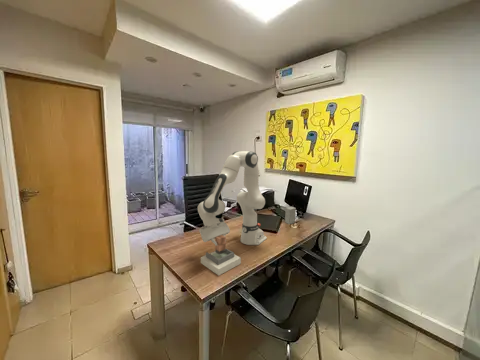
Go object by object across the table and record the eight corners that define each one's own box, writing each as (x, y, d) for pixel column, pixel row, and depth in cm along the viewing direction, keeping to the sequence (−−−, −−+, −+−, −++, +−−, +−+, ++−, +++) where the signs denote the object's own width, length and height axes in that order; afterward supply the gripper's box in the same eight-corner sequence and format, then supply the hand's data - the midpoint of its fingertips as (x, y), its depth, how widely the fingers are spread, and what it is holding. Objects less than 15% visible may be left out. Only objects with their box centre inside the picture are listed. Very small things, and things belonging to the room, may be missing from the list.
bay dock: (222, 253, 142) (222, 243, 141) (240, 263, 130) (240, 253, 129) (200, 263, 130) (200, 252, 129) (218, 275, 117) (218, 264, 116)
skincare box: (290, 221, 209) (291, 206, 207) (295, 223, 203) (296, 207, 200) (284, 222, 205) (285, 207, 203) (289, 224, 199) (289, 209, 196)
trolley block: (221, 249, 132) (221, 234, 130) (225, 251, 129) (225, 236, 127) (215, 252, 128) (215, 237, 127) (219, 254, 125) (219, 239, 124)
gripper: (200, 225, 123) (209, 246, 118) (225, 218, 138) (235, 236, 132) (196, 230, 127) (205, 251, 122) (221, 223, 141) (230, 241, 136)
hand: (221, 243), depth 127 cm, fingers closed on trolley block, 5 cm apart
